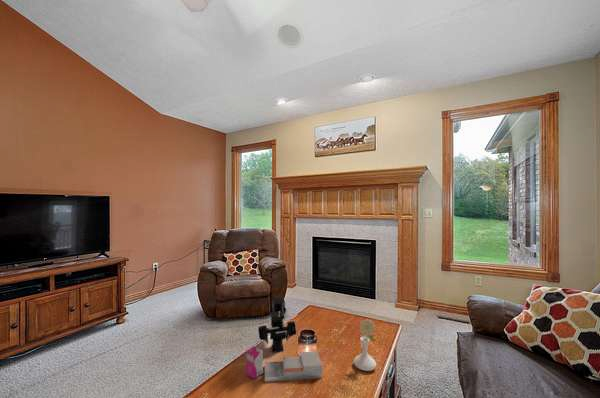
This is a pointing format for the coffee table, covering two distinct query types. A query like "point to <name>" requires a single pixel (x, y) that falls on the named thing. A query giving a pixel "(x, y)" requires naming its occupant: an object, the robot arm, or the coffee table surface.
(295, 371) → the step stand
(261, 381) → the coffee table surface
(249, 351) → the supplement box
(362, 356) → the flower in vase
